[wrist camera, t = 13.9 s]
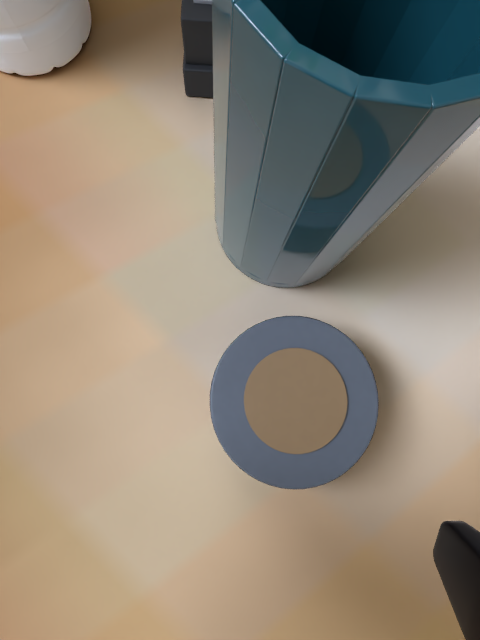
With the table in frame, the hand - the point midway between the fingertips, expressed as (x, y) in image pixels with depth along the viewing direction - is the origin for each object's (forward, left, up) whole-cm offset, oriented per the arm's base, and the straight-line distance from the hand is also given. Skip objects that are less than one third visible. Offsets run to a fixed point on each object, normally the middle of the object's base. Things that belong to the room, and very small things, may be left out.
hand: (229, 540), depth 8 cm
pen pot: (+7, -9, -10) cm, 15 cm away
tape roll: (0, -4, -10) cm, 11 cm away
